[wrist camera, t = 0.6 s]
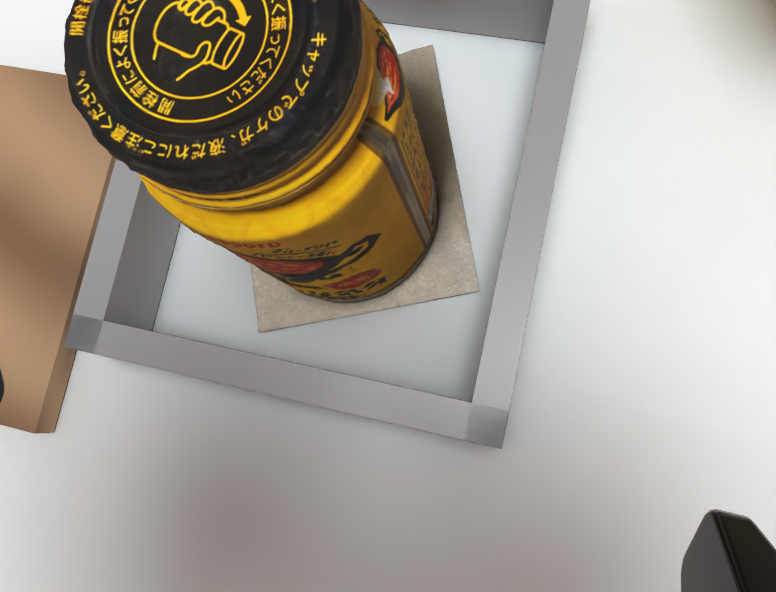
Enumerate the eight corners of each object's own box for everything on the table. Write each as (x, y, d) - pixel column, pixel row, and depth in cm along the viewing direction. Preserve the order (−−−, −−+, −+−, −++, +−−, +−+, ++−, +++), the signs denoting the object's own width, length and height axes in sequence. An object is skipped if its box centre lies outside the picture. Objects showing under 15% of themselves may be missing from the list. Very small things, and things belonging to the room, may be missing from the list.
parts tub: (500, 443, 21) (501, 449, 18) (117, 354, 24) (64, 346, 21) (584, 18, 23) (597, -38, 20) (219, -26, 25) (182, -83, 22)
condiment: (260, 333, 23) (20, 259, 11) (229, 96, 25) (-13, -187, 13) (480, 292, 22) (465, 166, 10) (433, 49, 24) (375, -301, 12)
